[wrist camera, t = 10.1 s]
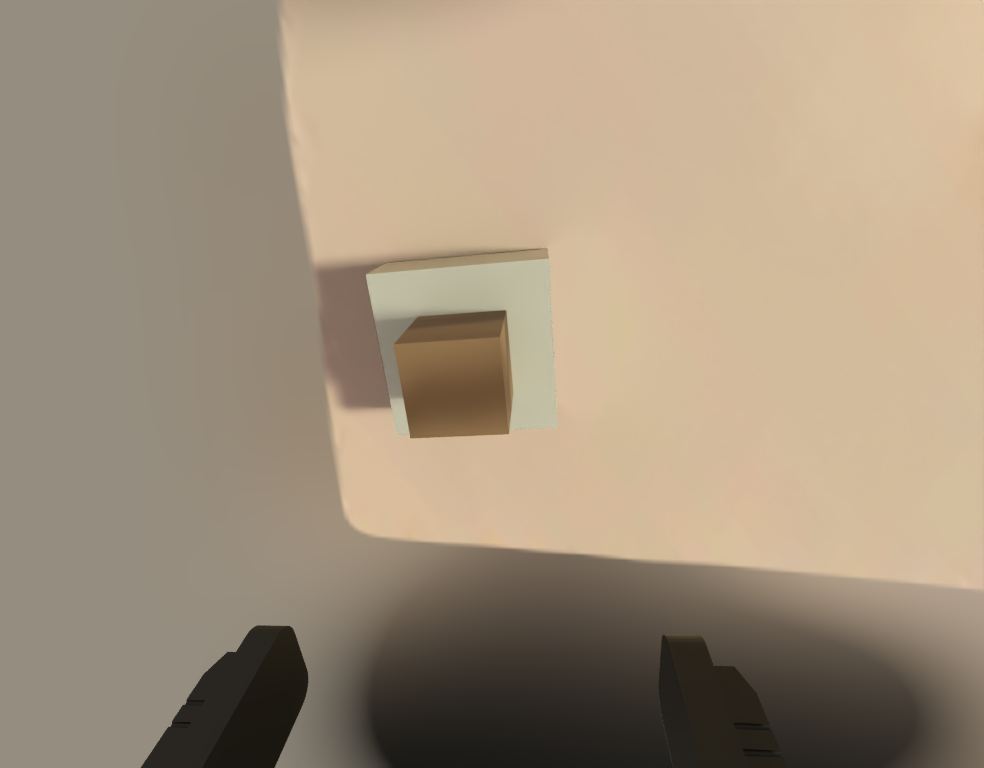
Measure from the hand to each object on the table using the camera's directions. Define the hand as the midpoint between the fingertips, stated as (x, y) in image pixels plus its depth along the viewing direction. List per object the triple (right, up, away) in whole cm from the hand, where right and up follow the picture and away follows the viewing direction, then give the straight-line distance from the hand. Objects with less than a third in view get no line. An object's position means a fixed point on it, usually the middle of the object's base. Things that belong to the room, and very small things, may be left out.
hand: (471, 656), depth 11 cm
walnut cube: (-1, +8, +17) cm, 19 cm away
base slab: (-1, +9, +21) cm, 23 cm away
